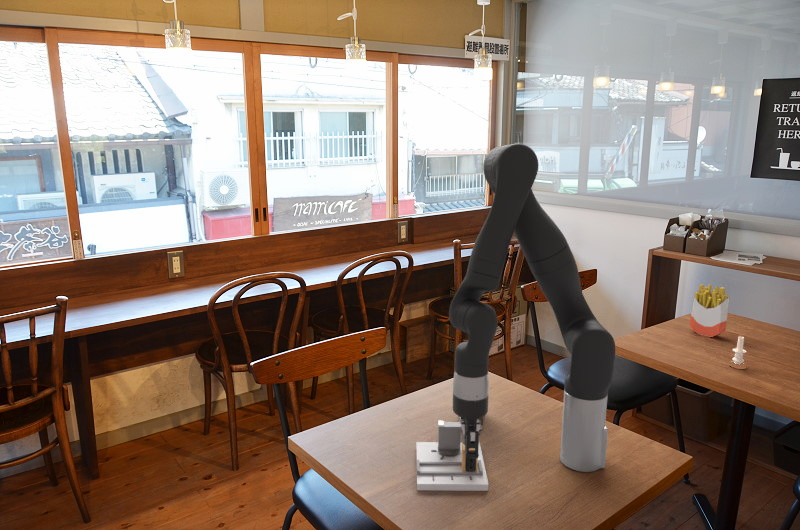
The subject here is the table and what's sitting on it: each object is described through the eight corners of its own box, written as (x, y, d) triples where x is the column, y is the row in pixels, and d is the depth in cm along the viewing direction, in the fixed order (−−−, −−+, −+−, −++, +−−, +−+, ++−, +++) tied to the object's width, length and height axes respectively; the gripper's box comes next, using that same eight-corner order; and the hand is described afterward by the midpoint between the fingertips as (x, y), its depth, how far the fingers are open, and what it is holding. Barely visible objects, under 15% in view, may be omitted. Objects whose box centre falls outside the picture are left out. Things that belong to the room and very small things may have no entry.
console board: (479, 448, 143) (479, 438, 142) (488, 490, 126) (488, 480, 126) (416, 447, 143) (416, 438, 143) (417, 490, 127) (417, 479, 126)
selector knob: (459, 444, 141) (459, 417, 140) (461, 456, 136) (461, 428, 135) (437, 444, 141) (437, 417, 140) (438, 456, 136) (438, 428, 135)
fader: (476, 465, 133) (476, 442, 131) (477, 471, 130) (477, 449, 129) (461, 465, 133) (461, 442, 132) (462, 471, 130) (462, 449, 129)
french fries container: (717, 340, 212) (723, 291, 208) (688, 331, 221) (693, 284, 216) (724, 337, 214) (730, 289, 210) (695, 329, 223) (701, 282, 219)
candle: (750, 369, 187) (754, 338, 184) (733, 369, 187) (737, 338, 184) (741, 363, 192) (745, 332, 189) (724, 363, 192) (728, 332, 190)
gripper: (492, 406, 120) (490, 479, 124) (484, 377, 134) (482, 443, 138) (455, 406, 120) (453, 479, 124) (451, 377, 134) (449, 443, 138)
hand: (468, 460), depth 131 cm, fingers open, 7 cm apart
